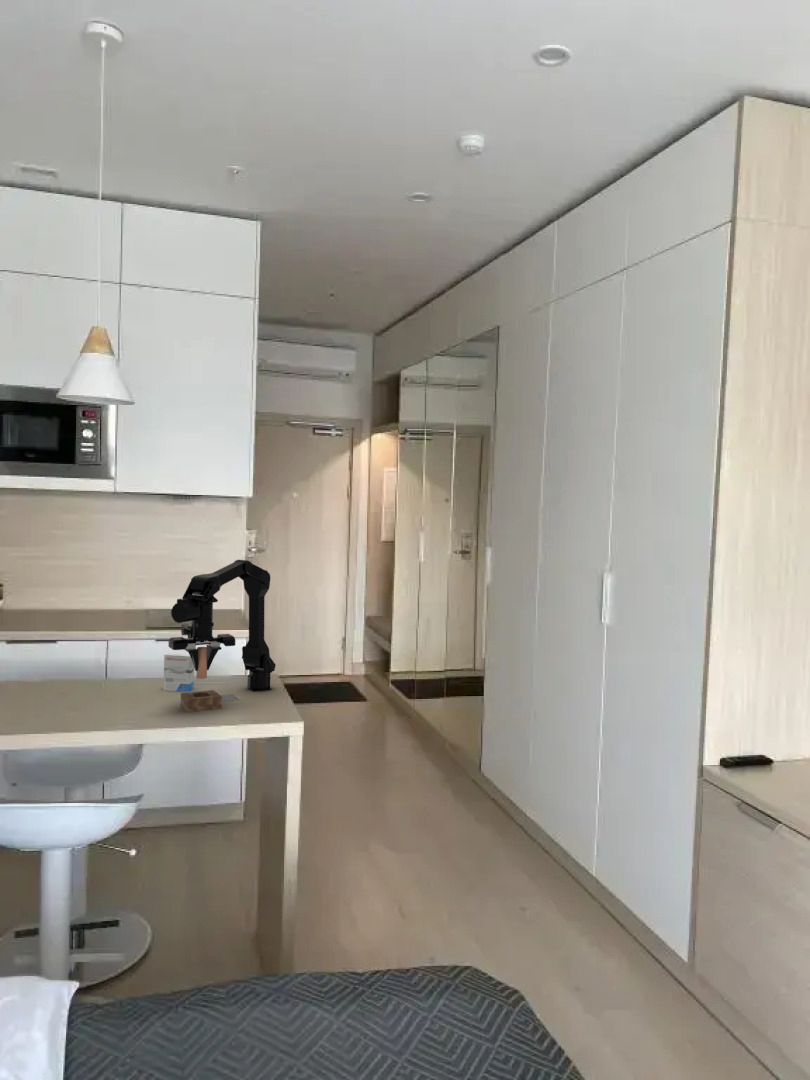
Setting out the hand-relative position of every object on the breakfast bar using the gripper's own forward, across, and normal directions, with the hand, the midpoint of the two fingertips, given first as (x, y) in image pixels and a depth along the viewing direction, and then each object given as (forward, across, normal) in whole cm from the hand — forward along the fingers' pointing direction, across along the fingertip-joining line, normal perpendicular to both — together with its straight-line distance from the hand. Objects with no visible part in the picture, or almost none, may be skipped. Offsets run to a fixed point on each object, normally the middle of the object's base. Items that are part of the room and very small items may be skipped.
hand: (201, 670), depth 249 cm
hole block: (+11, 0, 0) cm, 11 cm away
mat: (+11, -9, -7) cm, 16 cm away
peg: (+2, 0, 0) cm, 2 cm away
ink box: (+12, 0, -23) cm, 26 cm away
